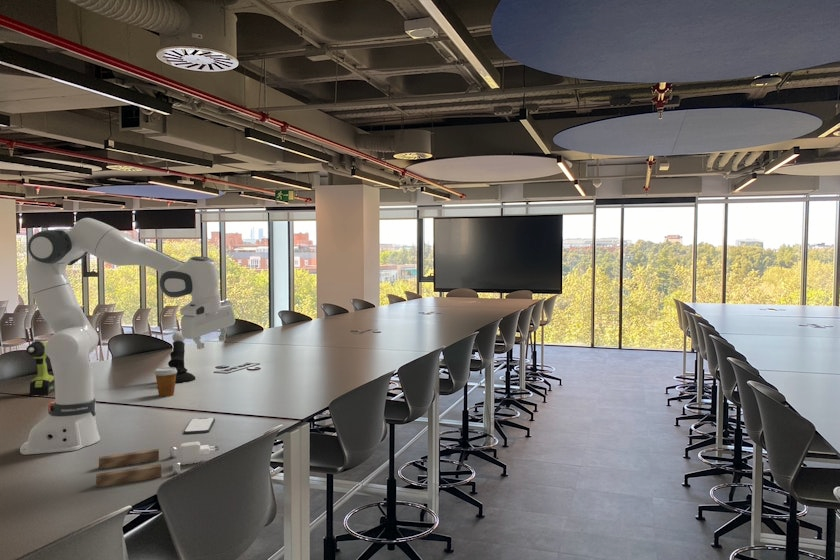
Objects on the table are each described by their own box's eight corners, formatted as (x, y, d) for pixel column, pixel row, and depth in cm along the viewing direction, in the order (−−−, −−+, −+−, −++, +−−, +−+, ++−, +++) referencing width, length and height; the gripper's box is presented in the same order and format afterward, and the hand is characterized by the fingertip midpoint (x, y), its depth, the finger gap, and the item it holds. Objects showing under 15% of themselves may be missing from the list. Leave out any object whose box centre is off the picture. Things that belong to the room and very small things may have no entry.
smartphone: (209, 434, 201) (215, 421, 217) (209, 430, 201) (215, 417, 217) (182, 436, 199) (191, 422, 215) (182, 431, 199) (191, 418, 215)
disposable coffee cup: (169, 398, 252) (168, 371, 252) (150, 397, 254) (149, 370, 254) (182, 393, 262) (181, 367, 261) (163, 392, 264) (163, 366, 263)
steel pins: (173, 475, 161) (172, 464, 161) (169, 456, 176) (169, 447, 176) (180, 473, 162) (180, 463, 162) (176, 455, 177) (176, 446, 177)
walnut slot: (96, 487, 153) (96, 476, 153) (99, 467, 168) (99, 457, 168) (161, 476, 160) (161, 466, 160) (158, 458, 175) (158, 448, 175)
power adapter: (218, 456, 177) (218, 437, 177) (219, 461, 173) (219, 442, 172) (179, 461, 173) (179, 442, 172) (180, 466, 168) (179, 447, 168)
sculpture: (196, 376, 299) (196, 329, 299) (191, 386, 277) (191, 335, 276) (165, 378, 295) (164, 330, 294) (157, 388, 273) (157, 336, 272)
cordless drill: (40, 401, 248) (38, 344, 247) (21, 402, 245) (19, 344, 245) (55, 389, 270) (54, 337, 269) (38, 390, 267) (37, 338, 267)
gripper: (223, 297, 200) (228, 335, 202) (175, 311, 182) (180, 352, 184) (237, 298, 197) (241, 337, 199) (189, 312, 179) (194, 354, 182)
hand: (211, 344), depth 192 cm, fingers open, 8 cm apart
